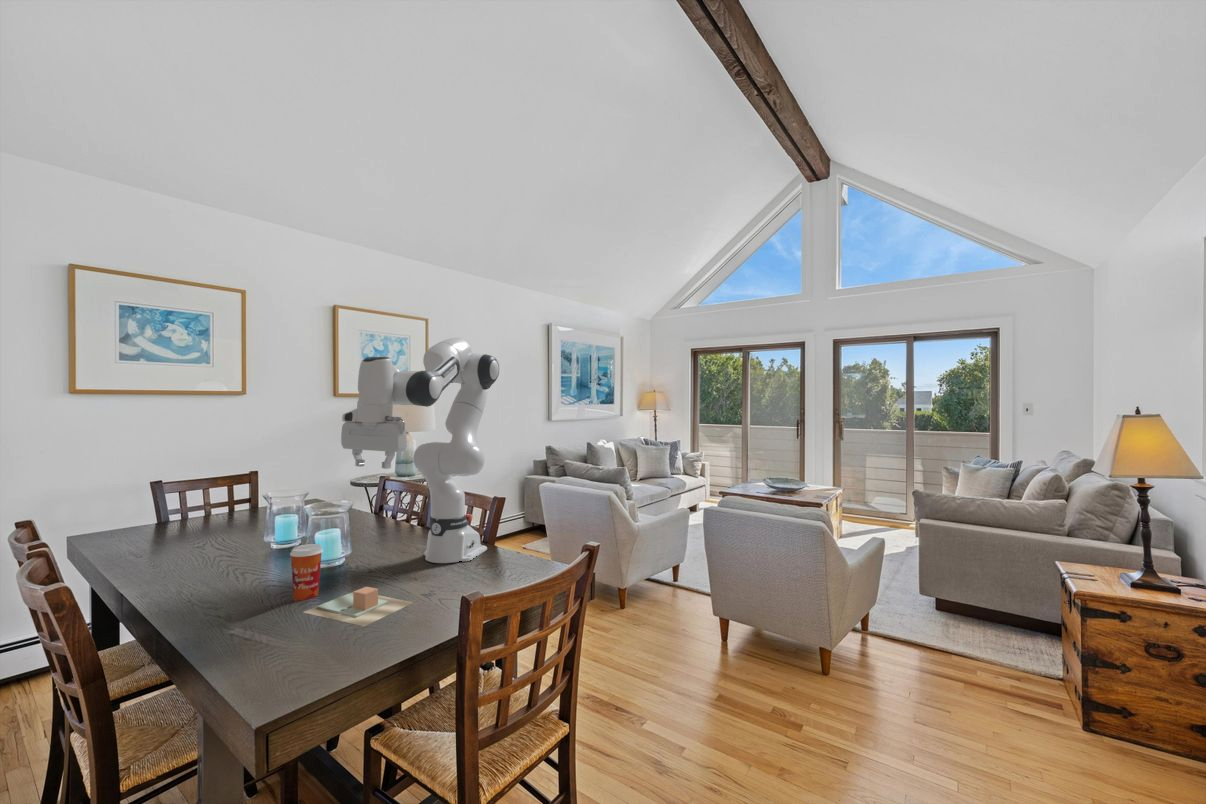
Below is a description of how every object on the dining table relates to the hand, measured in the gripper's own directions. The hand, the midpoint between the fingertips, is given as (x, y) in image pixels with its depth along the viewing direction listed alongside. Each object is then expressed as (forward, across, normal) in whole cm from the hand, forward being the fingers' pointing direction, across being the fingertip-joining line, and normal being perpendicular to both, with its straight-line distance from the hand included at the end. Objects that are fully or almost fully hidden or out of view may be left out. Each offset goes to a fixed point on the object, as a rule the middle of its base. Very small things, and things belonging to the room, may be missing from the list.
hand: (372, 467), depth 141 cm
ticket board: (+36, -4, +7) cm, 36 cm away
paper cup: (+36, +15, +7) cm, 39 cm away
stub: (+34, -6, +7) cm, 36 cm away
